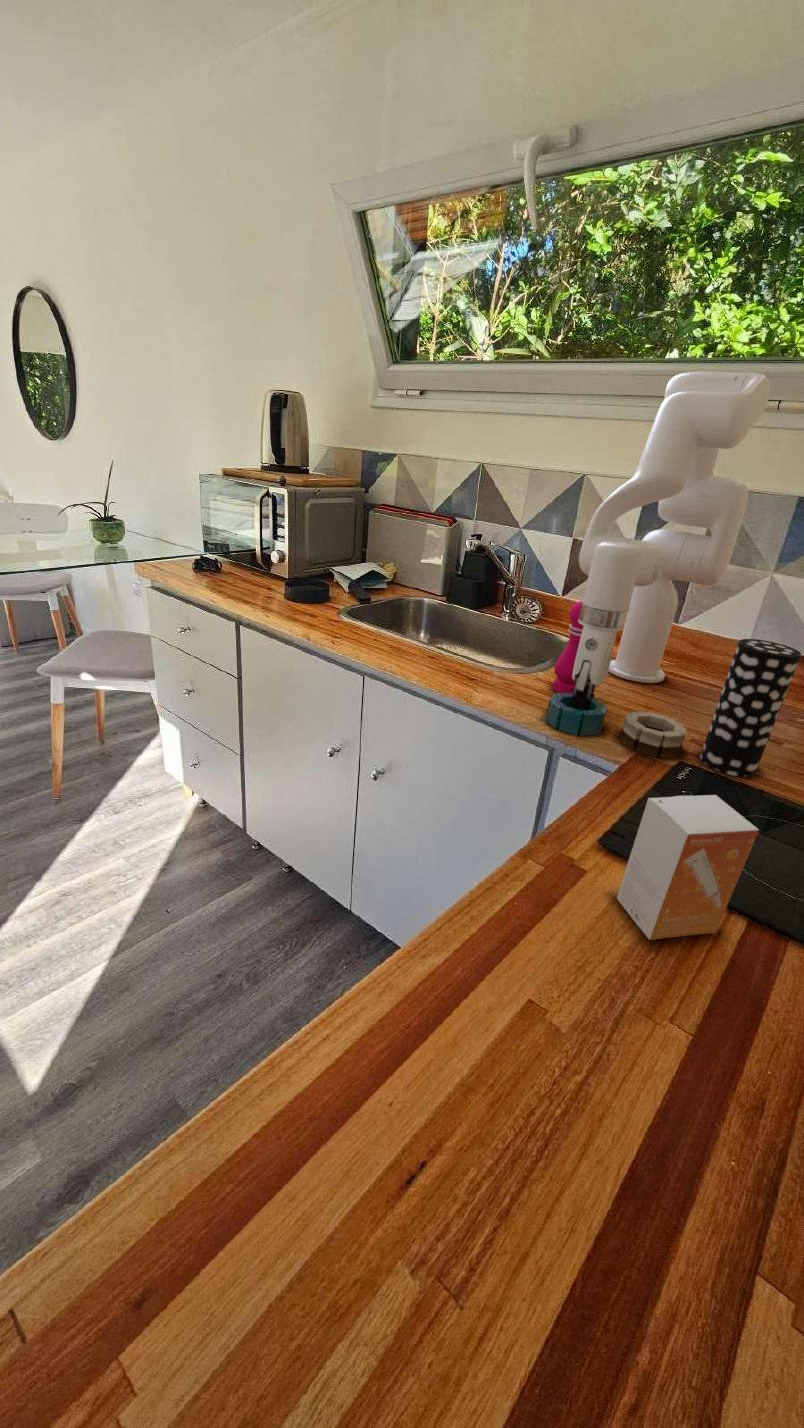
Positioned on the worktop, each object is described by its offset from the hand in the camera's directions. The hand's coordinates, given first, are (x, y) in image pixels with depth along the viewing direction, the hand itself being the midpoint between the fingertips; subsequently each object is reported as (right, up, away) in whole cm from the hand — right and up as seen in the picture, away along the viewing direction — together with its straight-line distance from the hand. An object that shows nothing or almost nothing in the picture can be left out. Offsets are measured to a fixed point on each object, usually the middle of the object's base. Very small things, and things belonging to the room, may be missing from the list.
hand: (579, 713), depth 109 cm
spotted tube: (+21, -8, -12) cm, 25 cm away
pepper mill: (+1, +5, +12) cm, 13 cm away
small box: (-5, -22, -47) cm, 52 cm away
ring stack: (+10, -5, -8) cm, 14 cm away
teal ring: (-2, -2, -3) cm, 4 cm away
